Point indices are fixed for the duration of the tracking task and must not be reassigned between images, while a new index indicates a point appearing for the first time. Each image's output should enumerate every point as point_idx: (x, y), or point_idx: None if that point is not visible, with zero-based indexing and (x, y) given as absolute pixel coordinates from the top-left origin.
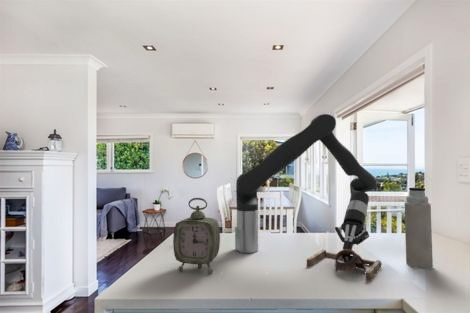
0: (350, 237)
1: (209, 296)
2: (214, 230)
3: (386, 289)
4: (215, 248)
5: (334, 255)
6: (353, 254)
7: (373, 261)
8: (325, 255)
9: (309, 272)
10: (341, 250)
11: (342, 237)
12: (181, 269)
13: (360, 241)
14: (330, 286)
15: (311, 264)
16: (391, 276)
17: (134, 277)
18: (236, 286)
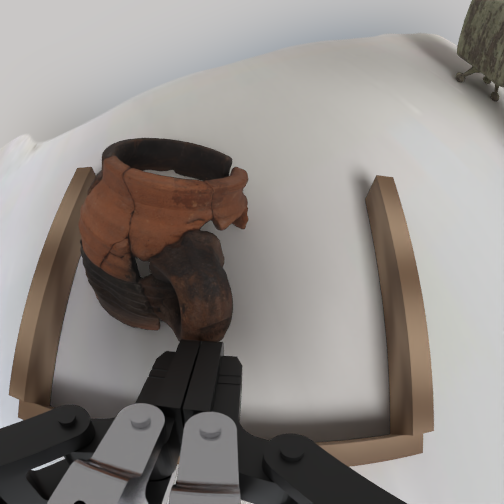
0: (140, 460)
1: (377, 36)
2: (482, 6)
3: (53, 169)
4: (473, 40)
5: (334, 443)
6: (125, 247)
7: None
8: (394, 424)
9: (329, 150)
10: (207, 186)
11: (277, 454)
12: (483, 78)
13: (52, 472)
14: (215, 101)
15: (370, 209)
16: (8, 297)
17: None
18: (384, 55)
